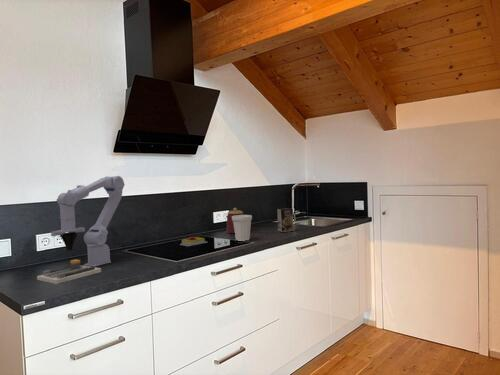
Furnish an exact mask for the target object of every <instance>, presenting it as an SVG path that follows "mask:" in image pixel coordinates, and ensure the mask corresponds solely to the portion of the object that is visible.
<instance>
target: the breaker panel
mask: <svg viewBox="0 0 500 375" xmlns="http://www.w3.org/2000/svg"><path fill="white" fill-rule="evenodd" d="M98 273H99V274H100V273H102V268H101V267H97V266H95V267H93V266H87V265H82V264H80V269H76V270H72V271H71V265H70V266H67V267H66V266H65V267H62V268H61V267H60V268H57V269H53V270H50V269H48V270H43V271H42V274H41V275H37V276H36V280H37V281H40V282H45V283H50V284H54V285H57V284H59V285H60V284H61V283H65V282H70V281H72V280H76V279H80V278H84V277H87V276H91V275H94V274H95V275H96V274H98Z"/></svg>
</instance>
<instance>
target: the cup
mask: <svg viewBox="0 0 500 375" xmlns="http://www.w3.org/2000/svg"><path fill="white" fill-rule="evenodd" d="M232 220H233V224H234V231H235V234H234V236H235V241H236V240H238V241H245V240H249V239H250V238H251V225H252V220H253V216H252V214H243V215H236V216H232ZM250 240H251V239H250Z"/></svg>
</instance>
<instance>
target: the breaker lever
mask: <svg viewBox="0 0 500 375" xmlns="http://www.w3.org/2000/svg"><path fill="white" fill-rule="evenodd" d="M69 262H70V266H71V271H72V270H76V269H80V265H81V259H72V260H69Z"/></svg>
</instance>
